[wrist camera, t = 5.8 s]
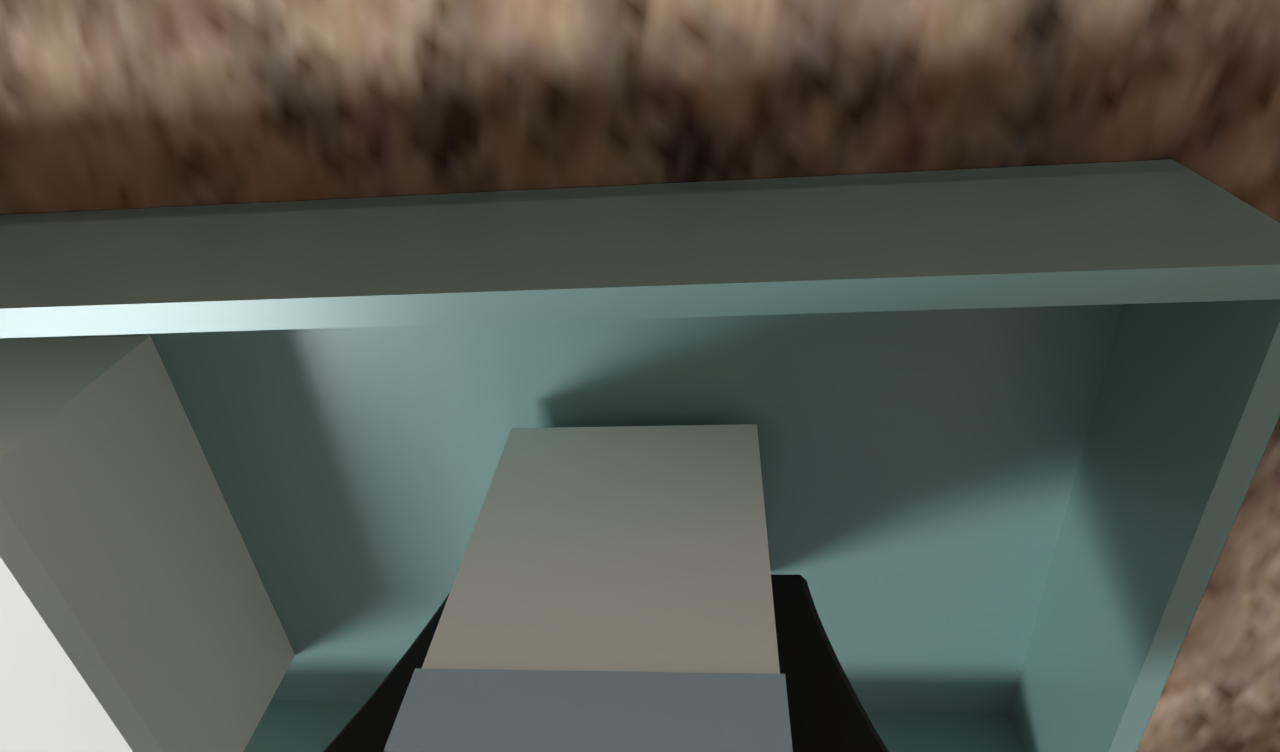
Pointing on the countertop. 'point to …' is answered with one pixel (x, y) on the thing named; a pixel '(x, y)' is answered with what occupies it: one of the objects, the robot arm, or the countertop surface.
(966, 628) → the tray
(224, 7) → the countertop surface
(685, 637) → the milk carton
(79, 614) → the white box
